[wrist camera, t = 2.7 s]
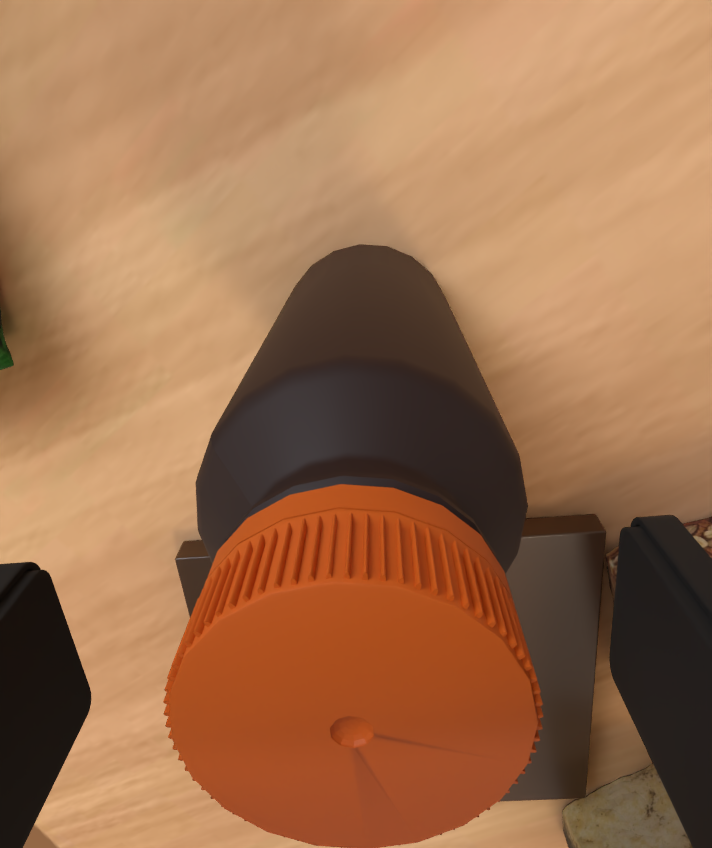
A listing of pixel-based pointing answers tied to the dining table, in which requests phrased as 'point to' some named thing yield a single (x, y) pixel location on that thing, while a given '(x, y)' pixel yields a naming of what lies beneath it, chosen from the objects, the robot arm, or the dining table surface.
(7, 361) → the snack package
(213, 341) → the dining table surface
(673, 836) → the rock
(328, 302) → the vinegar
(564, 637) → the serving board
